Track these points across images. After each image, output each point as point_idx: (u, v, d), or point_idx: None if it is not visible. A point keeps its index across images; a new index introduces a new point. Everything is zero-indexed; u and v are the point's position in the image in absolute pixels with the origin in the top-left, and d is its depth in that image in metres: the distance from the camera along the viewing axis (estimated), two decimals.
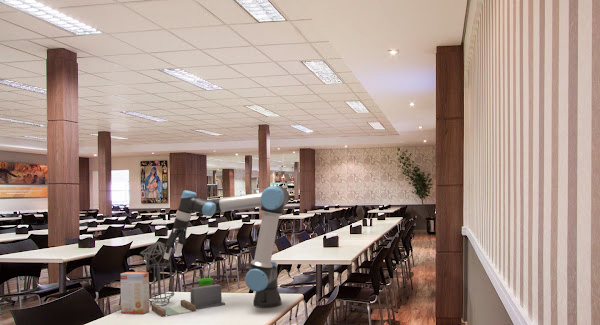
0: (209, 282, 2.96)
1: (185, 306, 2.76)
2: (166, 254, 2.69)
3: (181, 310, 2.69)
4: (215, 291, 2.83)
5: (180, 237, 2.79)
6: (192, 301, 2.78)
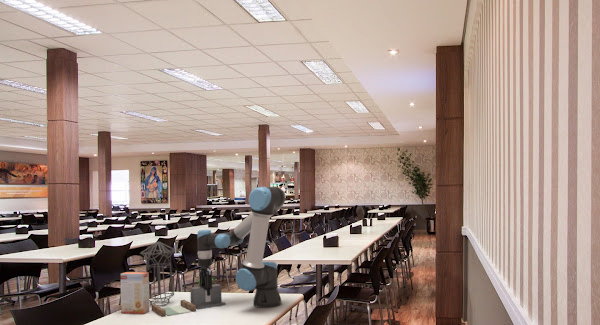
0: None
1: (185, 306, 2.76)
2: (207, 297, 2.80)
3: (181, 310, 2.69)
4: (215, 291, 2.83)
5: (204, 278, 2.85)
6: (192, 301, 2.78)
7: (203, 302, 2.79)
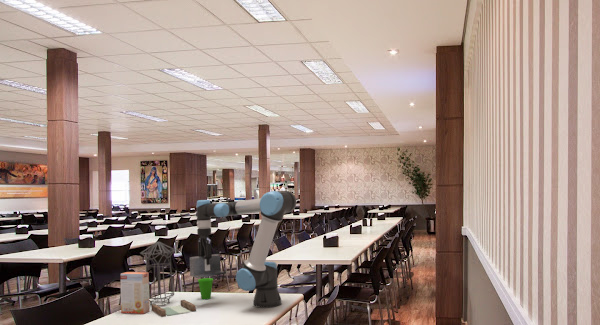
0: (209, 282, 2.96)
1: (185, 306, 2.76)
2: (207, 266, 2.80)
3: (181, 310, 2.69)
4: (214, 260, 2.84)
5: (203, 248, 2.85)
6: (191, 270, 2.79)
7: (202, 271, 2.80)
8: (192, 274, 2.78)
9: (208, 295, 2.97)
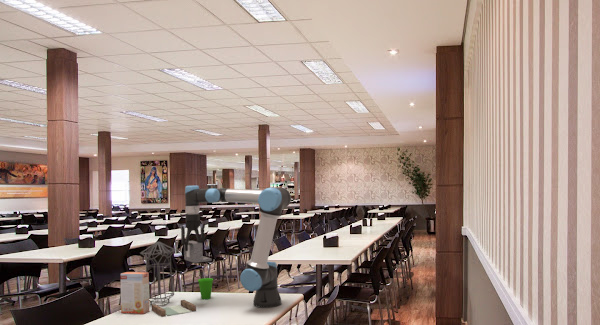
0: (209, 282, 2.96)
1: (185, 306, 2.76)
2: None
3: (181, 310, 2.69)
4: None
5: None
6: (198, 256, 2.73)
7: None
8: (199, 260, 2.73)
9: (208, 295, 2.97)
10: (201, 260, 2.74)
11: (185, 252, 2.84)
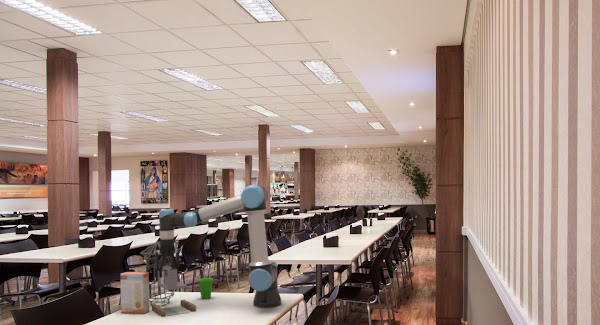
0: (209, 282, 2.96)
1: (185, 306, 2.76)
2: None
3: (181, 310, 2.69)
4: None
5: None
6: (172, 283, 2.64)
7: None
8: (174, 287, 2.64)
9: (208, 295, 2.97)
10: (176, 287, 2.64)
11: (159, 278, 2.74)
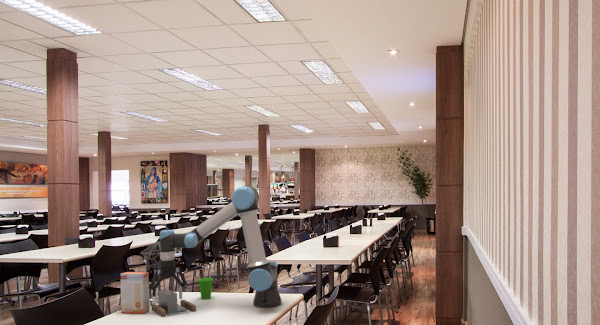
0: (209, 282, 2.96)
1: (185, 306, 2.76)
2: None
3: None
4: None
5: None
6: (173, 307, 2.63)
7: None
8: (174, 311, 2.63)
9: (208, 295, 2.97)
10: (176, 311, 2.64)
11: (159, 302, 2.73)
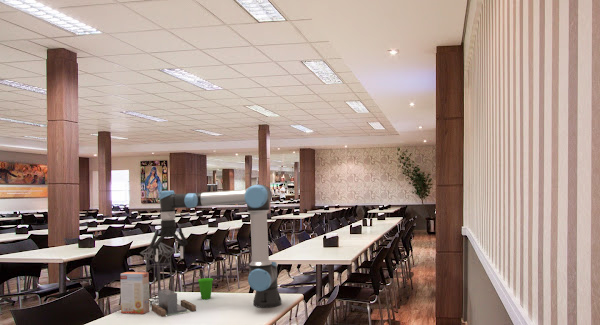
0: (209, 282, 2.96)
1: (185, 306, 2.76)
2: None
3: None
4: None
5: None
6: (173, 307, 2.63)
7: None
8: (174, 311, 2.63)
9: (208, 295, 2.97)
10: (176, 311, 2.64)
11: (159, 302, 2.73)
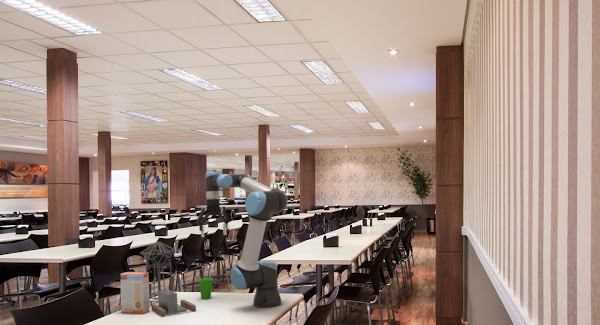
0: (209, 282, 2.96)
1: (185, 306, 2.76)
2: None
3: None
4: None
5: None
6: (173, 307, 2.63)
7: None
8: (174, 311, 2.63)
9: (208, 295, 2.97)
10: (176, 311, 2.64)
11: (159, 302, 2.73)
